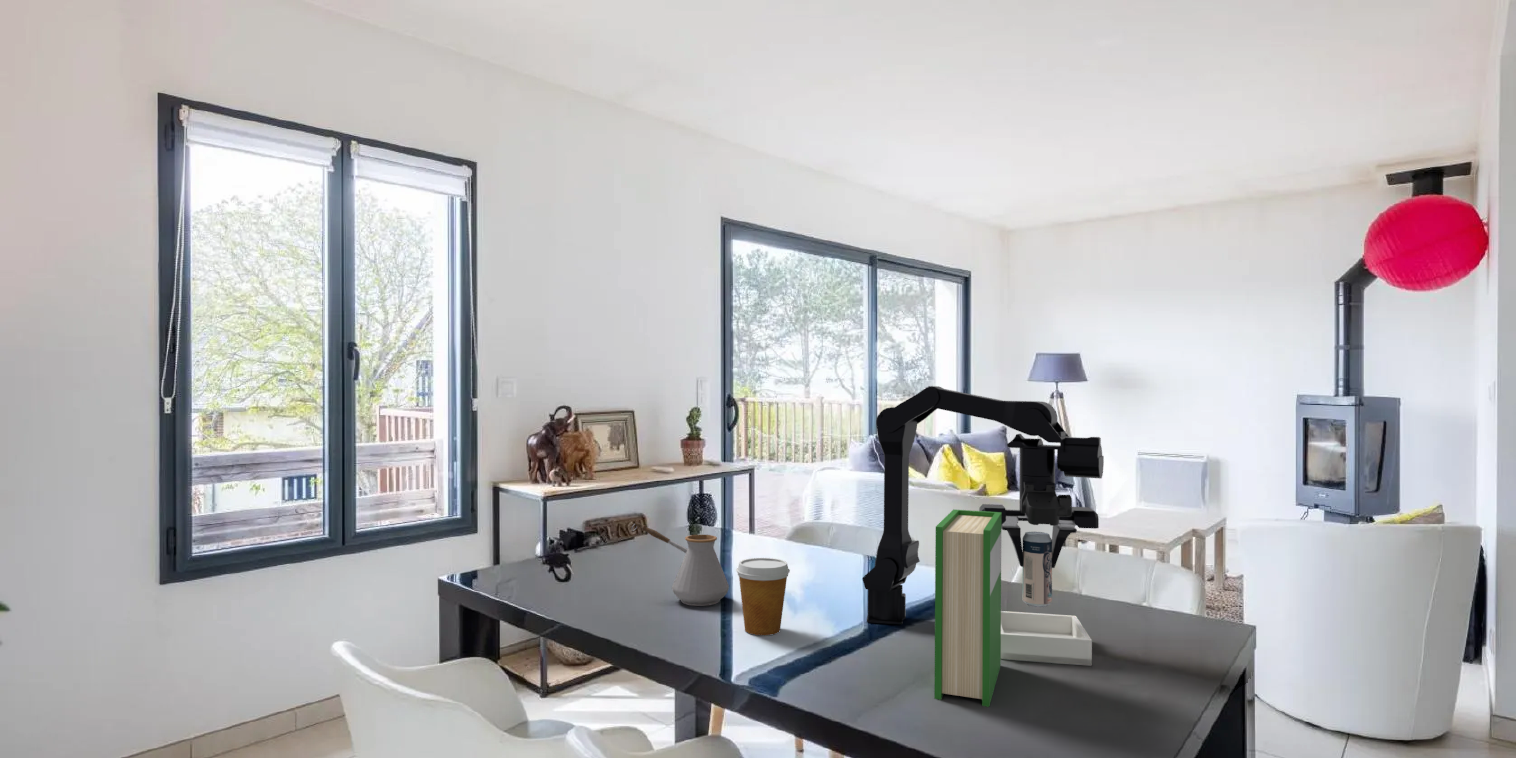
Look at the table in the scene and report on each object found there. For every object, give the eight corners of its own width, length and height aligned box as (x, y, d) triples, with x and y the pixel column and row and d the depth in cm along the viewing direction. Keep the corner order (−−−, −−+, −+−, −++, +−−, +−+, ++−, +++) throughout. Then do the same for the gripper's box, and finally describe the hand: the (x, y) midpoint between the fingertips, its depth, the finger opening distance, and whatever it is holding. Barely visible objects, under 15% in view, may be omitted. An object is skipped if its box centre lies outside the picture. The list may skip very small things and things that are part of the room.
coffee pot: (737, 597, 166) (737, 524, 166) (715, 611, 155) (716, 533, 156) (645, 587, 174) (645, 517, 174) (618, 600, 163) (618, 525, 163)
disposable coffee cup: (800, 630, 144) (800, 562, 144) (764, 642, 137) (764, 571, 137) (761, 619, 150) (761, 554, 150) (724, 630, 143) (725, 562, 143)
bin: (998, 658, 129) (999, 633, 129) (992, 633, 143) (992, 610, 143) (1091, 665, 127) (1091, 640, 127) (1075, 638, 140) (1075, 615, 140)
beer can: (1054, 608, 134) (1054, 536, 135) (1024, 607, 135) (1024, 535, 135) (1049, 601, 139) (1049, 531, 139) (1020, 599, 140) (1020, 530, 140)
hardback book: (989, 706, 110) (990, 530, 110) (934, 698, 113) (935, 526, 113) (1000, 665, 126) (1001, 512, 127) (952, 659, 129) (953, 509, 129)
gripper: (984, 478, 131) (984, 574, 131) (1106, 481, 128) (1106, 580, 128) (979, 471, 142) (978, 560, 142) (1091, 474, 139) (1091, 565, 139)
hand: (1037, 566), depth 137 cm, fingers closed on beer can, 5 cm apart
